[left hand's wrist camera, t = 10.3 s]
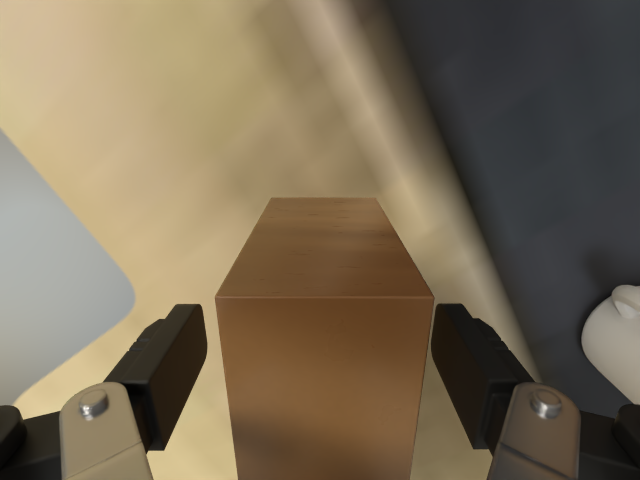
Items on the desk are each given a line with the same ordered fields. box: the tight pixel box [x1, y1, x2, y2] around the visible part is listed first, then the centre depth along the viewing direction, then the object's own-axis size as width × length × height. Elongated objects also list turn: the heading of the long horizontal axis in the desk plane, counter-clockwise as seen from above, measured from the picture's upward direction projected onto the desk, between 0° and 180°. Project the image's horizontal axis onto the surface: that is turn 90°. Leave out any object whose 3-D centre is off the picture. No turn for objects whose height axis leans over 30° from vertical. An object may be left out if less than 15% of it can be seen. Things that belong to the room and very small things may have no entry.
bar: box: [215, 198, 434, 480], centre depth 16 cm, size 24×5×9 cm, turn 0°
